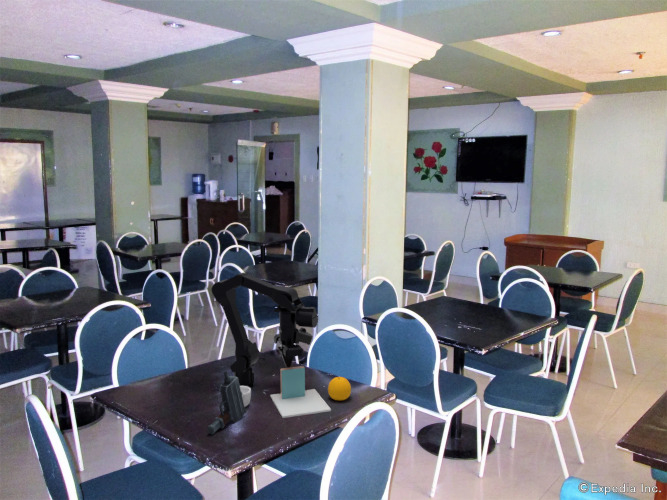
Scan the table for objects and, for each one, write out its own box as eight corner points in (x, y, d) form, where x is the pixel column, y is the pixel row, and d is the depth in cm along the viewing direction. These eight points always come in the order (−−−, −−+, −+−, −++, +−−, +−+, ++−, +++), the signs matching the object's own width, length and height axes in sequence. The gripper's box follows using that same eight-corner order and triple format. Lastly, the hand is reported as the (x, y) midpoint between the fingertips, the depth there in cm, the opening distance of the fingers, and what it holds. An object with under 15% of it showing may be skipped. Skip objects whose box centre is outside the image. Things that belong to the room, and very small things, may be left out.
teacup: (236, 399, 184) (236, 384, 183) (255, 403, 180) (255, 387, 180) (218, 410, 175) (218, 394, 174) (238, 415, 171) (238, 398, 171)
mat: (282, 418, 169) (282, 416, 169) (270, 396, 186) (270, 394, 186) (331, 411, 174) (331, 409, 174) (314, 390, 191) (314, 389, 191)
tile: (282, 399, 182) (281, 370, 181) (280, 396, 184) (280, 368, 183) (305, 396, 185) (304, 367, 183) (303, 393, 187) (303, 366, 185)
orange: (348, 404, 180) (348, 382, 179) (325, 402, 181) (325, 380, 180) (352, 394, 187) (352, 374, 186) (330, 393, 189) (330, 372, 188)
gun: (197, 392, 154) (230, 364, 166) (209, 440, 160) (240, 409, 172) (204, 394, 153) (237, 365, 165) (216, 442, 159) (247, 411, 171)
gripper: (318, 329, 181) (318, 374, 183) (302, 316, 198) (303, 357, 200) (285, 332, 177) (286, 378, 179) (273, 319, 195) (273, 360, 197)
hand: (288, 368), depth 189 cm, fingers closed
